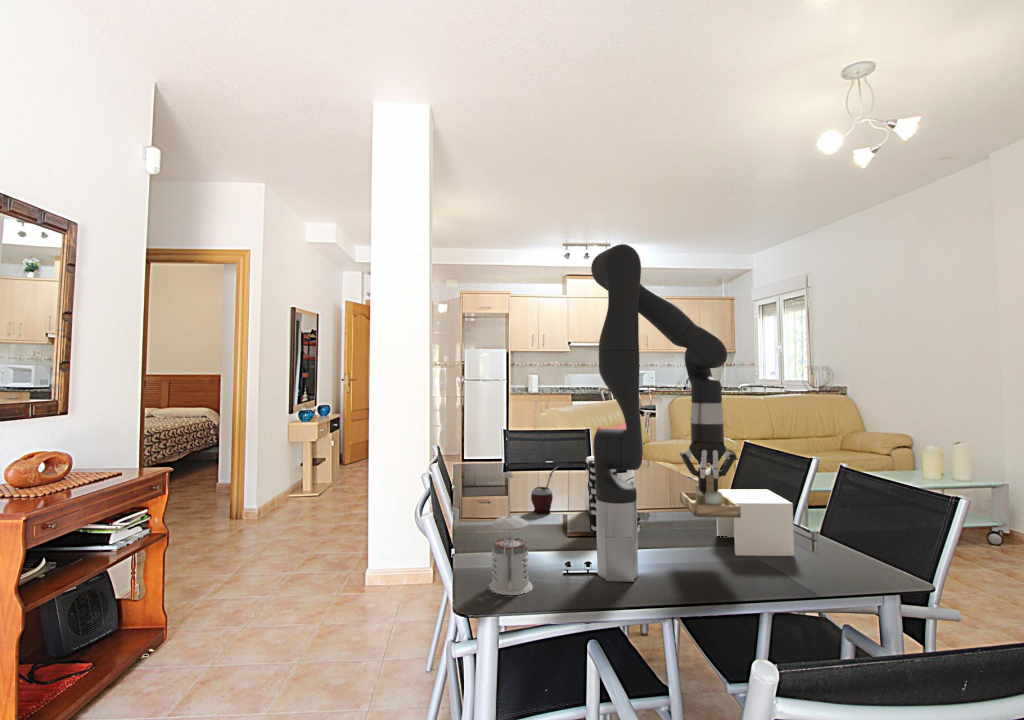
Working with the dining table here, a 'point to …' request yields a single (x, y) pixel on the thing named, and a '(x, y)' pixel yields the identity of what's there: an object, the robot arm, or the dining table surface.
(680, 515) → the dining table surface
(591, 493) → the white-spotted black cylinder
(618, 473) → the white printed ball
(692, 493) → the tray
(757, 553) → the white open block
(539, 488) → the mate gourd
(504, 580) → the french press
